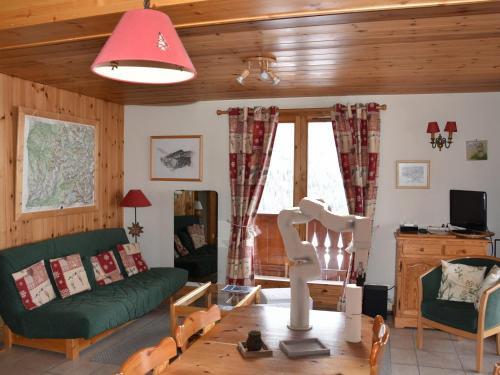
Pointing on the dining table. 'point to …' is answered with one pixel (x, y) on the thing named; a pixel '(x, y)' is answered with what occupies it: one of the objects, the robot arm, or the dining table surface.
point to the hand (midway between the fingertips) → (360, 284)
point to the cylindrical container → (353, 313)
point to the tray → (304, 347)
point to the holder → (255, 353)
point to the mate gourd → (254, 341)
